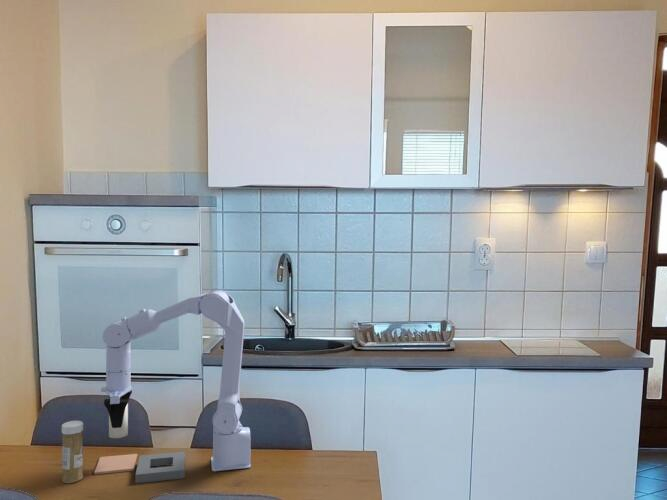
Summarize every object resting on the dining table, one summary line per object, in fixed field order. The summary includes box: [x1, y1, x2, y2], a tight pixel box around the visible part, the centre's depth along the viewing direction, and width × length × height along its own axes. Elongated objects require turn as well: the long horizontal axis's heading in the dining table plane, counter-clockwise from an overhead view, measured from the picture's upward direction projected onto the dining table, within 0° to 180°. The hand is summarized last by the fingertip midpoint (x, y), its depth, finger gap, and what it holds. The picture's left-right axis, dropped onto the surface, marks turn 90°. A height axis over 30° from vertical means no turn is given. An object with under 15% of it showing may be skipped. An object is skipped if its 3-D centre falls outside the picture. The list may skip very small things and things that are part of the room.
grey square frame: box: [135, 451, 186, 484], centre depth 129 cm, size 11×11×2 cm
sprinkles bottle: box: [61, 420, 84, 484], centre depth 124 cm, size 5×5×14 cm
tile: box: [93, 453, 138, 476], centre depth 132 cm, size 9×9×1 cm
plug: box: [108, 402, 129, 439], centre depth 132 cm, size 4×4×8 cm
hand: (118, 423), depth 132 cm, fingers closed on plug, 4 cm apart
